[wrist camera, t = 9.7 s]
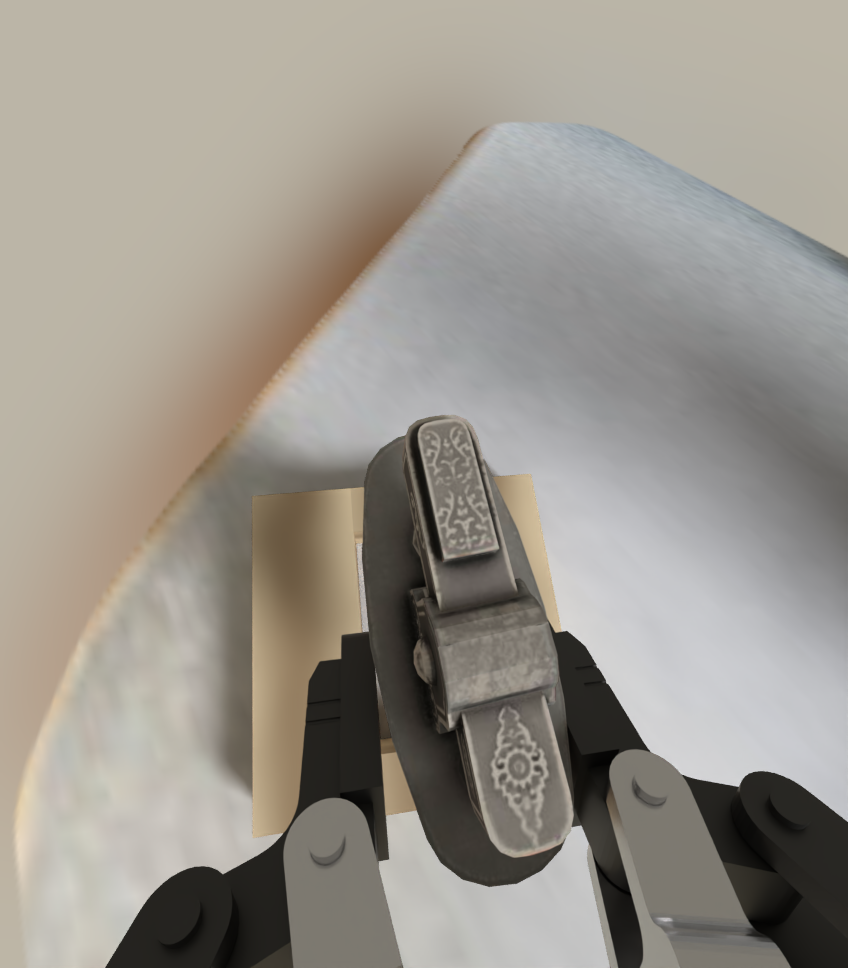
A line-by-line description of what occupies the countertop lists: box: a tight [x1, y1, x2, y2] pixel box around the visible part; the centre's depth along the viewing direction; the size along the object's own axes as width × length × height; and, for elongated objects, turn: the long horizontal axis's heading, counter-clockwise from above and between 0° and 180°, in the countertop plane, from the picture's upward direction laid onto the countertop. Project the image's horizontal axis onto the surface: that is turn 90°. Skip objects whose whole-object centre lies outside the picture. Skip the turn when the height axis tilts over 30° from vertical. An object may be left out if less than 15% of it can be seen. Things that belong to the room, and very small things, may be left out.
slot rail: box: [252, 474, 562, 838], centre depth 22 cm, size 14×14×3 cm
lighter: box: [362, 415, 574, 887], centre depth 11 cm, size 8×3×10 cm, turn 11°
